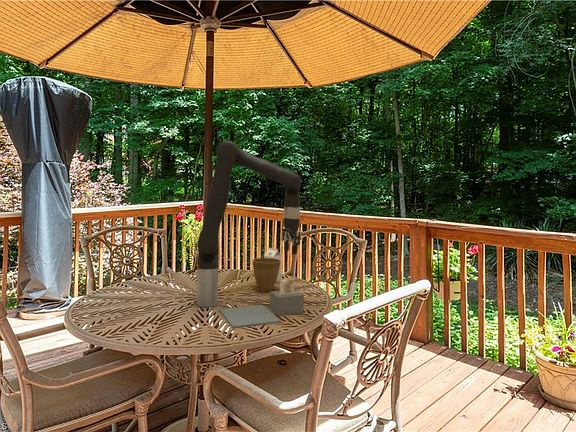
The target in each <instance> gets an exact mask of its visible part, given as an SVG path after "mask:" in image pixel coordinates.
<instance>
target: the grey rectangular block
mask: <svg viewBox="0 0 576 432" xmlns="http://www.w3.org/2000/svg"><path fill="white" fill-rule="evenodd" d="M304 300H305V295H304V294H303V293H302V292H300V291H298V290H296V289H295V288H294V292H290V293H280V290H272V291H270V292H269V310H270V311H272V313H273V314H274V315H275V316H279V317H280V316H289V315H296V314H297V315H298V314H304V302H305V301H304Z"/></svg>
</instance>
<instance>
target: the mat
mask: <svg viewBox="0 0 576 432" xmlns="http://www.w3.org/2000/svg"><path fill="white" fill-rule="evenodd" d="M219 312H220V313H221V315H222V316H223V318H224V319H225V321H227V322H228V324H229V325H230V326H231V328H232V329H238V328H246V327H255V326H263V325H271V324H279V323H282V322H281V319H280V318H278V317H277V315H276V314H275V313H273V312H271V310H270V309H268V308H267V307H266V306H264V305H263V304H259V305H258V304H257V305H249V306H239V307H229V308H220V309H219Z"/></svg>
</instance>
